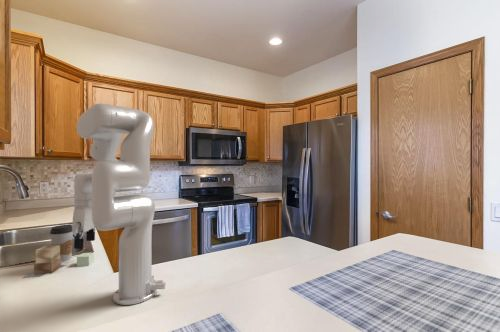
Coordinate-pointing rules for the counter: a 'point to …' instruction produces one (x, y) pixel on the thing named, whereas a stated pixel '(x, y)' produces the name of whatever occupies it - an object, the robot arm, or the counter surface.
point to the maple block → (48, 254)
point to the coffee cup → (63, 240)
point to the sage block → (85, 259)
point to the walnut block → (47, 267)
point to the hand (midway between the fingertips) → (85, 244)
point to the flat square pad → (36, 274)
